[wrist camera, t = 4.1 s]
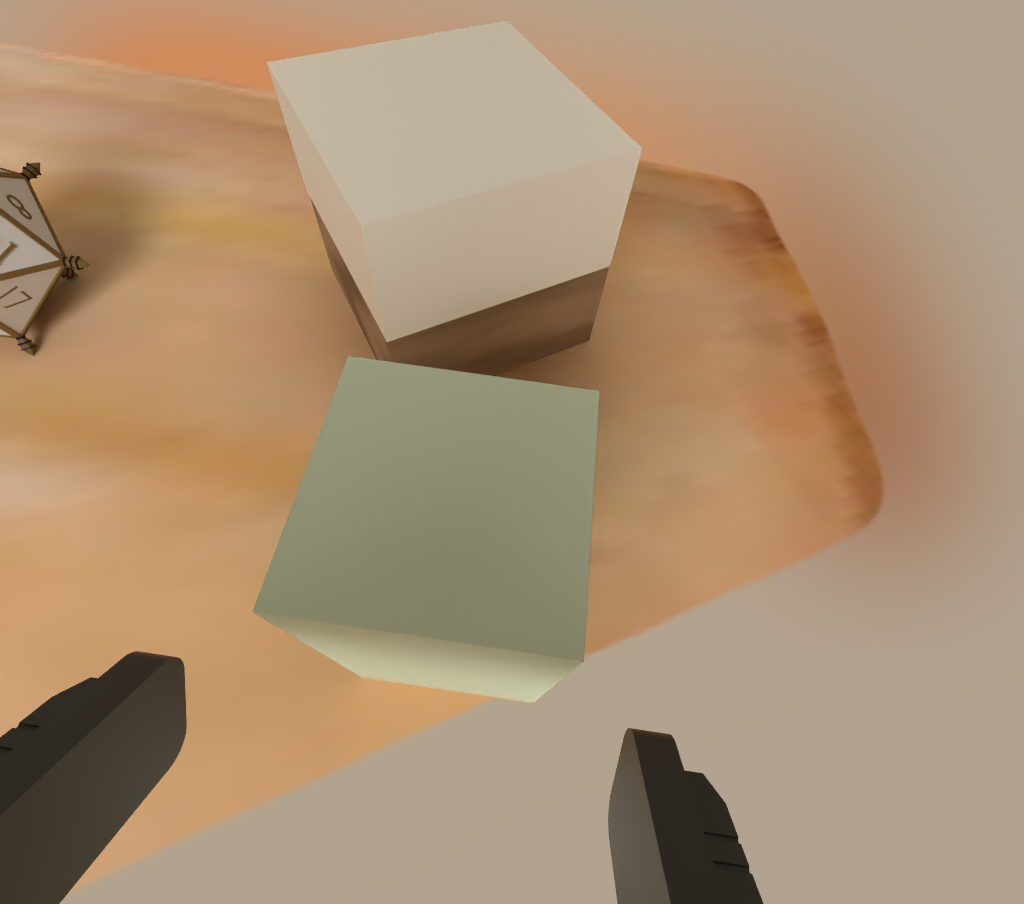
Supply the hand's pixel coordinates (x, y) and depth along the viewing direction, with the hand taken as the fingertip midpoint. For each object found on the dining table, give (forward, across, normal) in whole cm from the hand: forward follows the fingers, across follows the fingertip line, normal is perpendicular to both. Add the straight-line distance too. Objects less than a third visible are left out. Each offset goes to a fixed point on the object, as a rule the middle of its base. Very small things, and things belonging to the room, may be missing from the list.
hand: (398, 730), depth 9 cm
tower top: (+17, +3, -11) cm, 20 cm away
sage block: (+10, 0, +3) cm, 10 cm away
